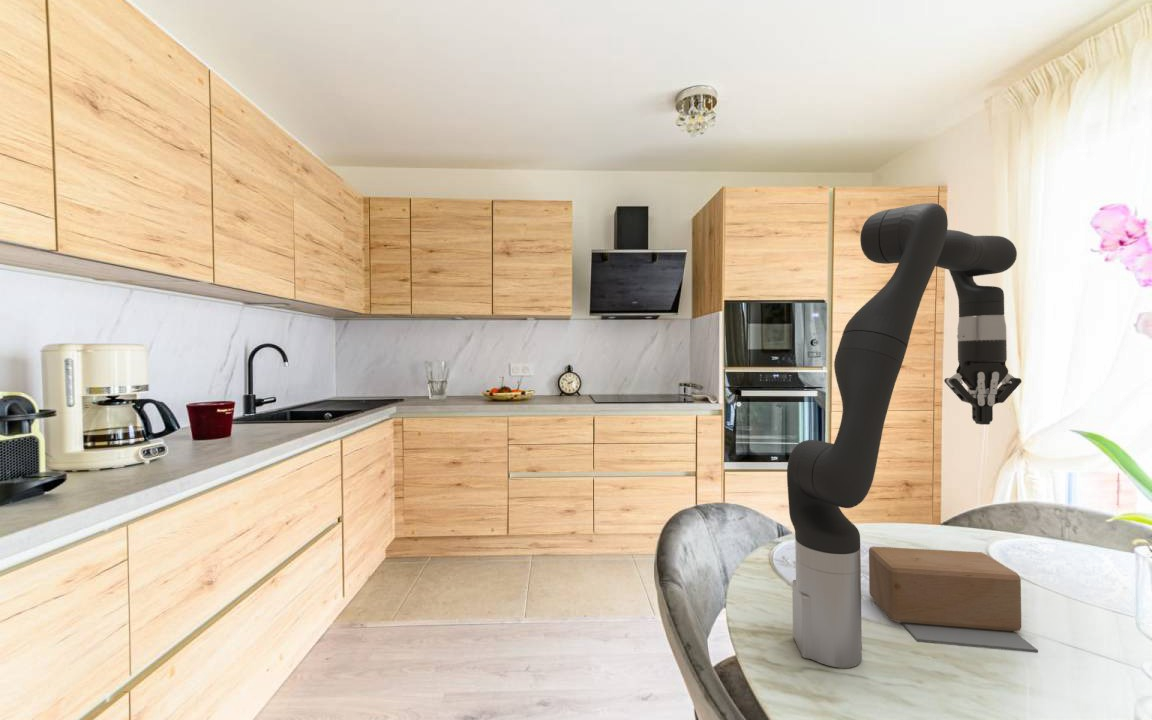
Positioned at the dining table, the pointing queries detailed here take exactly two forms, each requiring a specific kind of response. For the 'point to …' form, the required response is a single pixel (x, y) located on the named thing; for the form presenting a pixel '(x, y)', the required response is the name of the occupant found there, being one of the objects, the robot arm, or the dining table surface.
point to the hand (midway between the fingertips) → (982, 423)
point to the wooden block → (945, 588)
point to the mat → (968, 636)
